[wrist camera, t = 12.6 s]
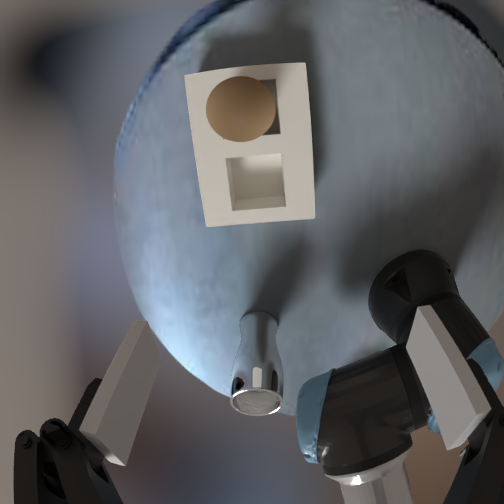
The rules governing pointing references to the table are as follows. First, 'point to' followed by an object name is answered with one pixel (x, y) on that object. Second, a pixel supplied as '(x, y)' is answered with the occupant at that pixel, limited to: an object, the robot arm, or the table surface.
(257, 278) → the table surface
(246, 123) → the oak peg
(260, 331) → the beer glass
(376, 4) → the table surface
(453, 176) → the table surface
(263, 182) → the square-hole block
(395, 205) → the table surface
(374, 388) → the robot arm
